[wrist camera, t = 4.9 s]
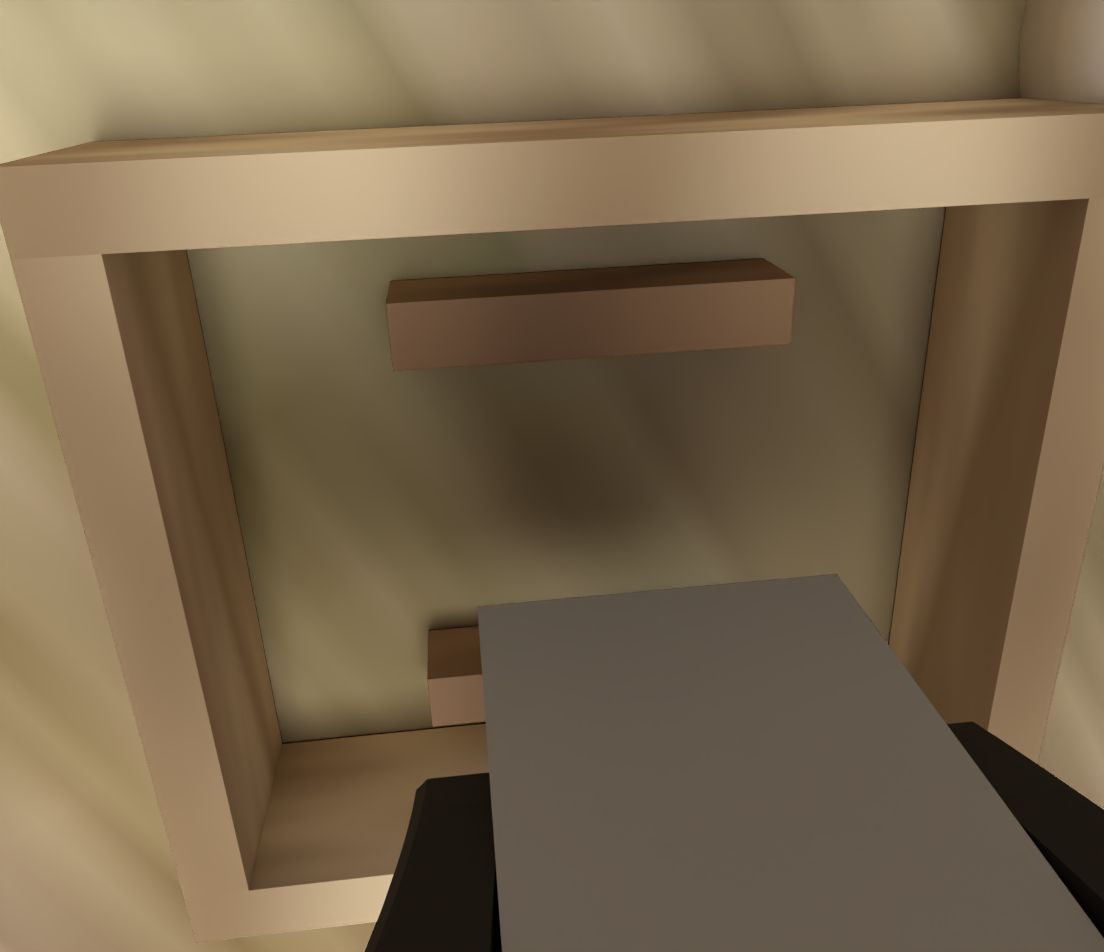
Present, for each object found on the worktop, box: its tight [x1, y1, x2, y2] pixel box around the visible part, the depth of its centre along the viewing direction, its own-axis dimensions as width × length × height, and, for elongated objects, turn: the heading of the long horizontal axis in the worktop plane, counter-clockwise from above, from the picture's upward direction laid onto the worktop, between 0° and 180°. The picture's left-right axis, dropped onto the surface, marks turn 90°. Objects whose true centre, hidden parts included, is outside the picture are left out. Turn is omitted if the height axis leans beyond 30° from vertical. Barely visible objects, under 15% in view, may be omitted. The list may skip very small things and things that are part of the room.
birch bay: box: [0, 98, 1104, 943], centre depth 15 cm, size 14×12×4 cm
